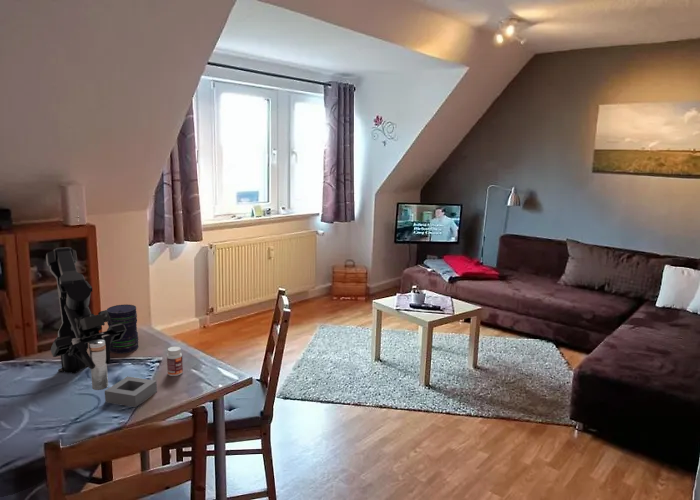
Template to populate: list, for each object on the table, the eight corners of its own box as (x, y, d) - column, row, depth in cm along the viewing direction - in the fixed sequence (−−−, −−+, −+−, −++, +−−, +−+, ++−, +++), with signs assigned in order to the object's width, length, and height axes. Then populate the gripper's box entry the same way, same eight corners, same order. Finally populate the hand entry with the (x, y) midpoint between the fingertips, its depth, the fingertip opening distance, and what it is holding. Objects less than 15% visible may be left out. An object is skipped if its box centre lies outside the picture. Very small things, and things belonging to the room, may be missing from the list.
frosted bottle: (88, 389, 145) (85, 344, 143) (99, 382, 149) (95, 338, 146) (101, 391, 144) (98, 346, 142) (111, 384, 148) (108, 340, 145)
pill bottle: (178, 377, 169) (177, 352, 168) (164, 375, 170) (163, 350, 169) (185, 370, 174) (184, 346, 172) (172, 369, 175) (171, 345, 173)
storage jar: (112, 344, 195) (109, 305, 192) (140, 342, 197) (138, 303, 194) (106, 354, 185) (103, 313, 182) (136, 352, 188) (134, 312, 185)
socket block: (105, 402, 152) (104, 390, 151) (128, 387, 162) (127, 376, 161) (135, 407, 150) (135, 395, 149) (156, 391, 159) (156, 380, 158)
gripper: (50, 310, 138) (71, 362, 133) (121, 295, 151) (142, 342, 146) (42, 331, 144) (62, 381, 139) (110, 315, 158) (130, 361, 153)
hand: (100, 365), depth 144 cm, fingers closed on frosted bottle, 4 cm apart
